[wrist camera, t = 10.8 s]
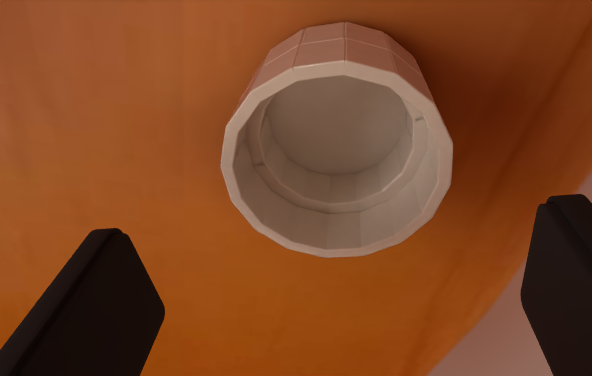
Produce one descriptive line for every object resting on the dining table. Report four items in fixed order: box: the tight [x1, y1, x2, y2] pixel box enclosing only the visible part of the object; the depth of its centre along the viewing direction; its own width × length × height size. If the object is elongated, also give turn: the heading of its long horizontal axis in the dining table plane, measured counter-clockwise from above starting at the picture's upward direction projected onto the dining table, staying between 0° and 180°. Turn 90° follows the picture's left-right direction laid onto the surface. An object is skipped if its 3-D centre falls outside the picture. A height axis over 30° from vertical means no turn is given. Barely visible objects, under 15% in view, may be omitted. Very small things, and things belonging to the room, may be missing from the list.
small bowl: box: [220, 22, 454, 258], centre depth 14 cm, size 7×7×4 cm
